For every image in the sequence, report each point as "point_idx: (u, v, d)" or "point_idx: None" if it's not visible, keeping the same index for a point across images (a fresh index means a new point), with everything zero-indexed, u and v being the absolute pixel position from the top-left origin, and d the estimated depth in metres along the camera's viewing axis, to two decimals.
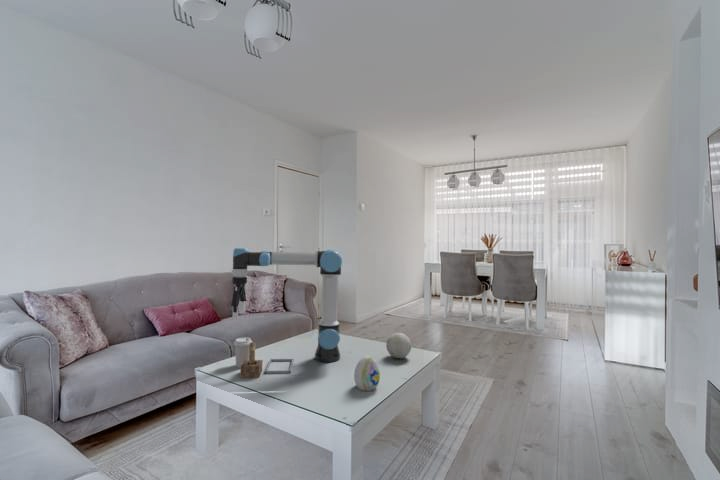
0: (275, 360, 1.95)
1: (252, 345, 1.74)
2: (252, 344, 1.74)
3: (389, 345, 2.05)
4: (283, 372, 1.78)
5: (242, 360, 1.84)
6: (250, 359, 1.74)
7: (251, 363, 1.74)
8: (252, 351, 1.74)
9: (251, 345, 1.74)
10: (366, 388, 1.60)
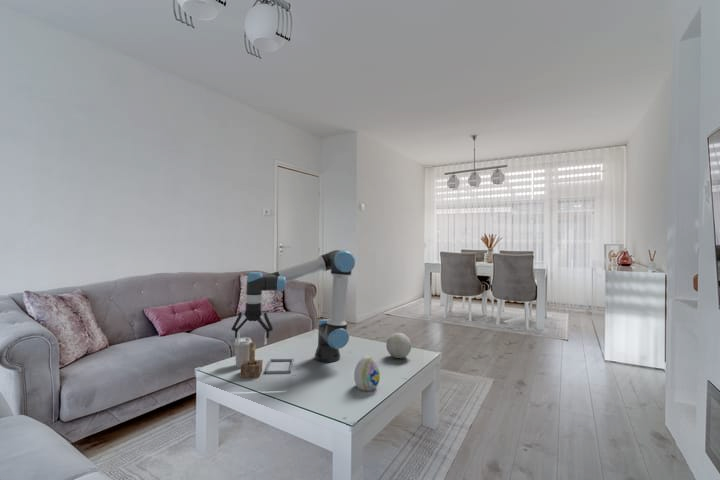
0: (275, 360, 1.95)
1: (252, 345, 1.74)
2: (252, 344, 1.74)
3: (389, 345, 2.05)
4: (283, 372, 1.78)
5: (242, 360, 1.84)
6: (250, 359, 1.74)
7: (251, 363, 1.74)
8: (252, 351, 1.74)
9: (251, 345, 1.74)
10: (366, 388, 1.60)
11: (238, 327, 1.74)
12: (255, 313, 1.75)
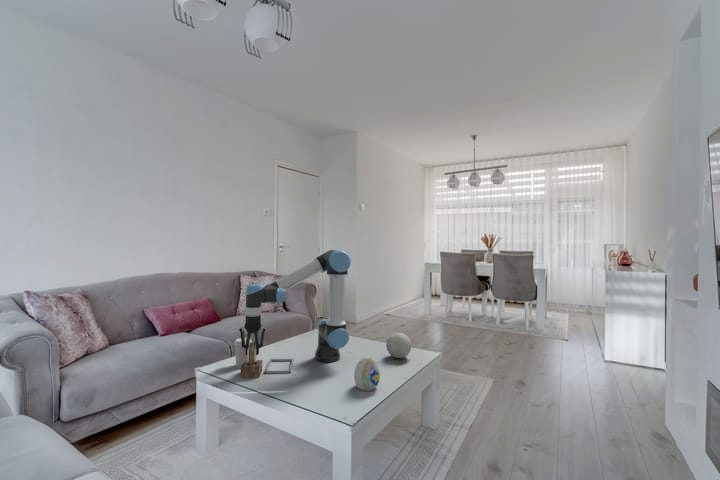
0: (275, 360, 1.95)
1: (252, 345, 1.74)
2: (252, 344, 1.74)
3: (389, 345, 2.05)
4: (283, 372, 1.78)
5: (242, 360, 1.84)
6: (250, 359, 1.74)
7: (251, 363, 1.74)
8: (252, 351, 1.74)
9: (251, 345, 1.74)
10: (366, 388, 1.60)
11: (246, 344, 1.74)
12: (256, 326, 1.75)
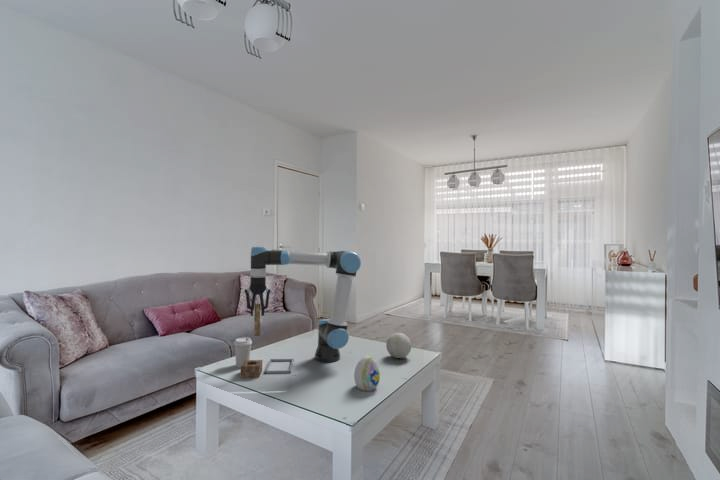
0: (275, 360, 1.95)
1: (257, 306, 1.76)
2: (257, 305, 1.76)
3: (389, 345, 2.05)
4: (283, 372, 1.78)
5: (242, 360, 1.84)
6: (255, 320, 1.76)
7: (257, 323, 1.76)
8: (257, 312, 1.76)
9: (256, 306, 1.76)
10: (366, 388, 1.60)
11: (252, 305, 1.76)
12: (261, 287, 1.77)
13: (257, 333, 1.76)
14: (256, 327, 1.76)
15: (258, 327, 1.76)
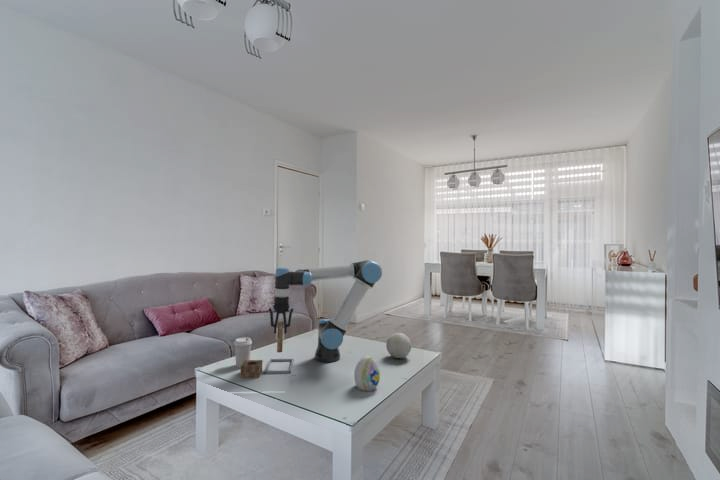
0: (275, 360, 1.95)
1: (280, 324, 1.86)
2: (280, 323, 1.86)
3: (389, 345, 2.05)
4: (283, 372, 1.78)
5: (242, 360, 1.84)
6: (278, 337, 1.86)
7: (280, 341, 1.86)
8: (280, 330, 1.86)
9: (280, 324, 1.86)
10: (366, 388, 1.60)
11: (275, 323, 1.86)
12: (284, 306, 1.86)
13: (279, 349, 1.86)
14: (279, 344, 1.86)
15: (281, 344, 1.86)
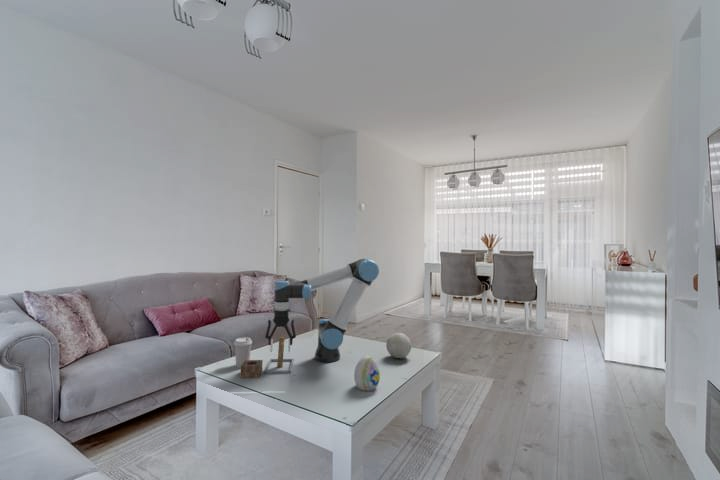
0: (275, 360, 1.95)
1: (282, 340, 1.86)
2: (282, 339, 1.86)
3: (389, 345, 2.05)
4: (283, 372, 1.78)
5: (242, 360, 1.84)
6: (279, 353, 1.86)
7: (280, 356, 1.86)
8: (281, 345, 1.86)
9: (281, 340, 1.86)
10: (366, 388, 1.60)
11: (271, 335, 1.85)
12: (284, 319, 1.86)
13: (280, 365, 1.86)
14: (279, 359, 1.86)
15: (281, 359, 1.86)
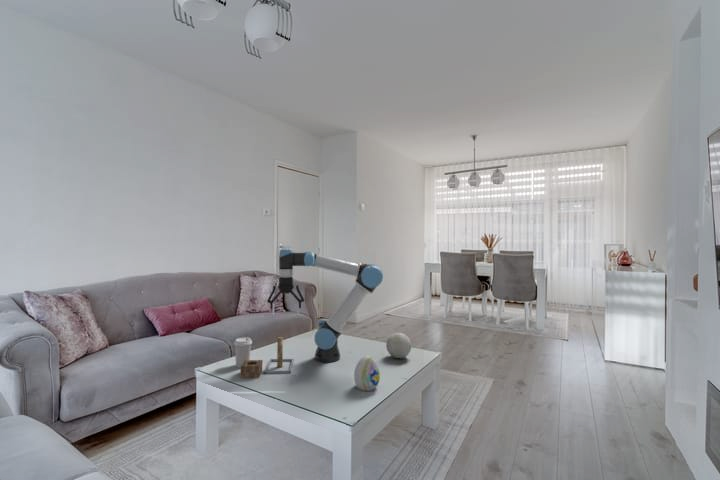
0: (275, 360, 1.95)
1: (280, 340, 1.86)
2: (280, 339, 1.86)
3: (389, 345, 2.05)
4: (283, 372, 1.78)
5: (242, 360, 1.84)
6: (278, 353, 1.86)
7: (279, 356, 1.86)
8: (280, 345, 1.86)
9: (279, 340, 1.86)
10: (366, 388, 1.60)
11: (273, 299, 1.90)
12: (288, 286, 1.92)
13: (279, 365, 1.86)
14: (279, 360, 1.86)
15: (281, 359, 1.86)
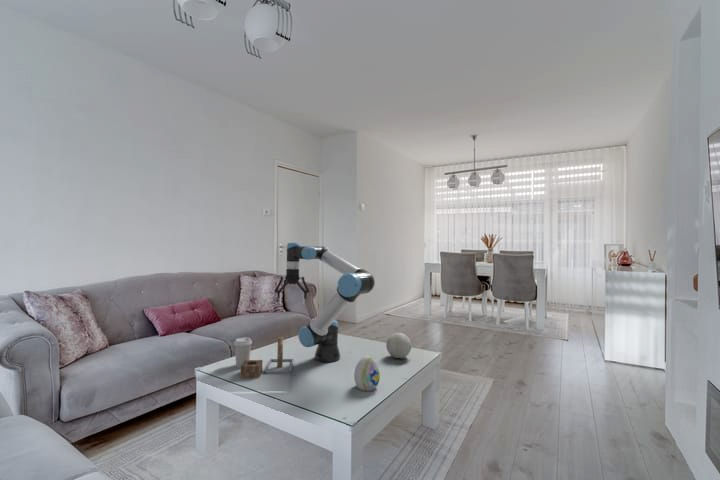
0: (275, 360, 1.95)
1: (280, 340, 1.86)
2: (280, 339, 1.86)
3: (389, 345, 2.05)
4: (283, 372, 1.78)
5: (242, 360, 1.84)
6: (278, 353, 1.86)
7: (280, 356, 1.86)
8: (280, 345, 1.86)
9: (279, 340, 1.86)
10: (366, 388, 1.60)
11: (280, 289, 2.04)
12: (294, 277, 2.05)
13: (279, 365, 1.86)
14: (279, 360, 1.86)
15: (281, 359, 1.86)
